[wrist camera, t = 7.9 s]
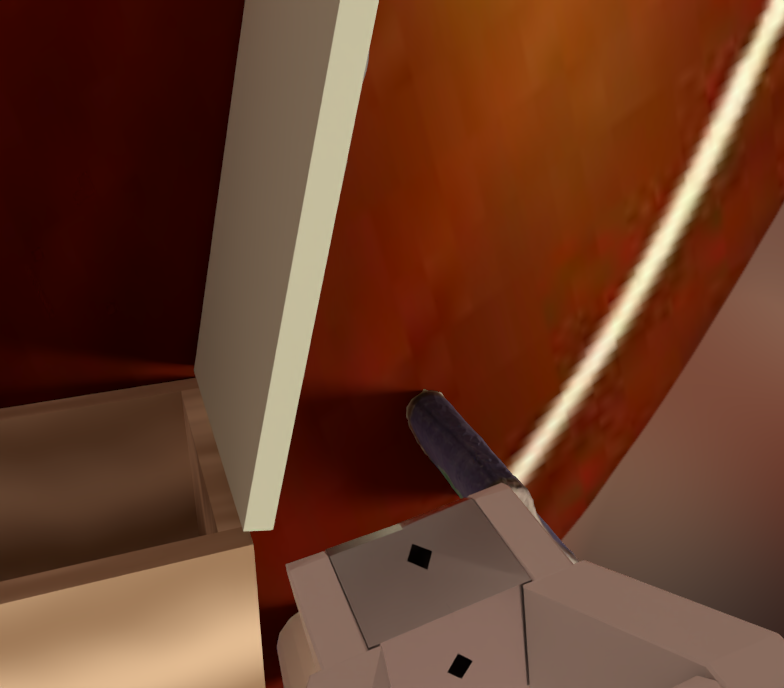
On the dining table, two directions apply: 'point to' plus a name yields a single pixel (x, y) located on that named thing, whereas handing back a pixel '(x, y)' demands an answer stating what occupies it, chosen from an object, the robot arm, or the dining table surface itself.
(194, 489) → the oak cabinet
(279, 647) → the white cylinder
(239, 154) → the side door
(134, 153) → the dining table surface
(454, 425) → the flask
